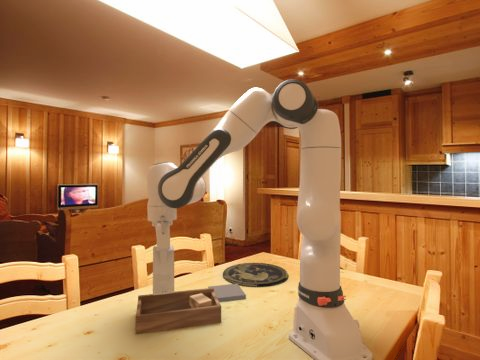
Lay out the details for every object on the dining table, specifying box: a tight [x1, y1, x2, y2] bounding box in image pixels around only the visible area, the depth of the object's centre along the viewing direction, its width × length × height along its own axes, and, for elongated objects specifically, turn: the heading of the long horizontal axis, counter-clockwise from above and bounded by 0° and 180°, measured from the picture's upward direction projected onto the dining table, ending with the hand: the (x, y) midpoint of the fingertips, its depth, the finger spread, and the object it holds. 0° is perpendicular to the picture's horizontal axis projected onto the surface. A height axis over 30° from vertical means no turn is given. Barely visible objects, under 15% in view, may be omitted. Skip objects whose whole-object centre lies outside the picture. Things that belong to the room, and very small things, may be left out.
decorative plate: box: [222, 262, 289, 288], centre depth 134 cm, size 30×2×30 cm
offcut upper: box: [190, 293, 212, 308], centre depth 95 cm, size 7×4×3 cm, turn 36°
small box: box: [152, 244, 175, 295], centre depth 91 cm, size 8×6×13 cm
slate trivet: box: [207, 283, 247, 303], centre depth 111 cm, size 12×12×2 cm
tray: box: [135, 287, 222, 335], centre depth 93 cm, size 13×25×6 cm, turn 106°
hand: (163, 258), depth 91 cm, fingers closed on small box, 8 cm apart
